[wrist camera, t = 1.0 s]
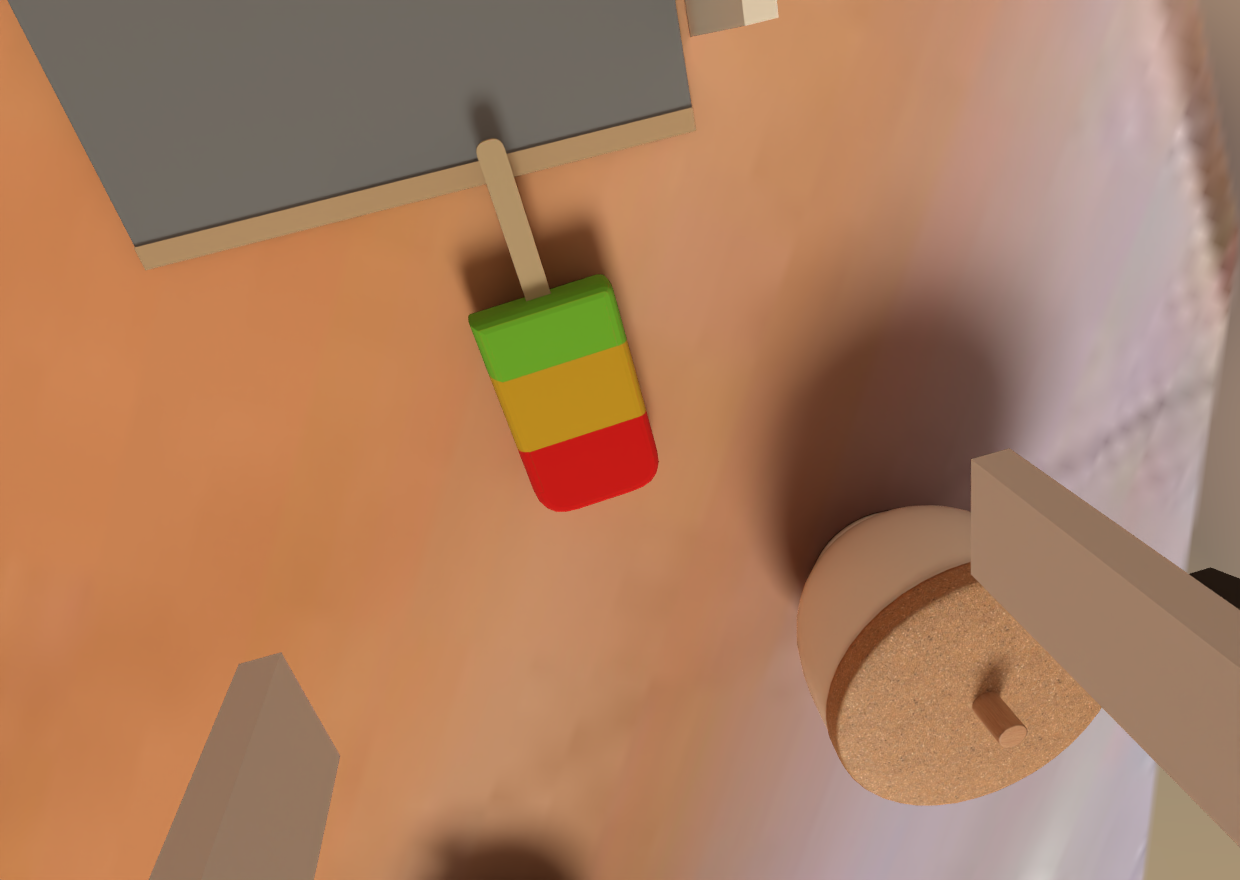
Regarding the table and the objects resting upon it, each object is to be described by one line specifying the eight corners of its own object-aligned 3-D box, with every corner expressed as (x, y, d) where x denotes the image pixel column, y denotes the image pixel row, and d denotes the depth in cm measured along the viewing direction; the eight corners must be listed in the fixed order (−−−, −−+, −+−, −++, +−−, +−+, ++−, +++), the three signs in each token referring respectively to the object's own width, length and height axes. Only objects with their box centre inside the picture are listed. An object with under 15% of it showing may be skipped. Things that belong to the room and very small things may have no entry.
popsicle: (540, 500, 33) (545, 525, 32) (409, 159, 26) (406, 168, 24) (657, 462, 34) (668, 484, 32) (561, 112, 26) (568, 118, 24)
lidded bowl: (966, 648, 42) (1115, 819, 33) (753, 680, 40) (842, 871, 31) (1012, 449, 37) (1207, 583, 27) (767, 475, 35) (881, 629, 25)
